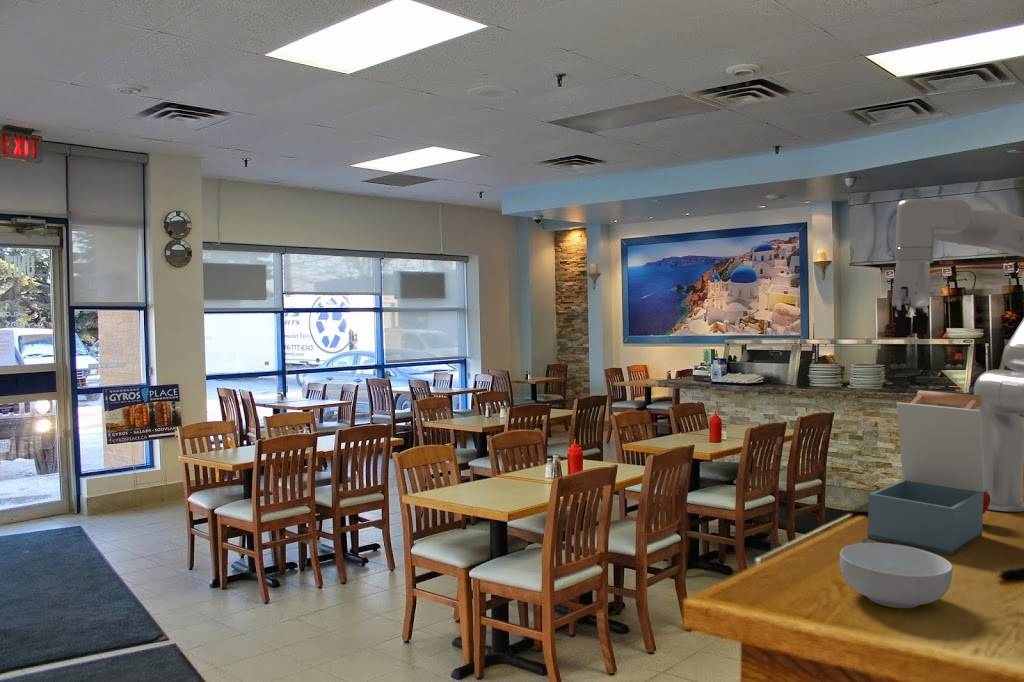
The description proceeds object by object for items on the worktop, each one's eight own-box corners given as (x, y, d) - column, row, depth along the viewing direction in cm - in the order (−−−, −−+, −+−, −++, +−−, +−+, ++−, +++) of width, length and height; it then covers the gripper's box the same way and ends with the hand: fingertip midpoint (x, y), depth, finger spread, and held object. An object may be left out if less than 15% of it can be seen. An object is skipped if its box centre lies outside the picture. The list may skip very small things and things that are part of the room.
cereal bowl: (896, 626, 129) (898, 580, 129) (816, 590, 145) (817, 549, 144) (975, 609, 136) (977, 566, 136) (891, 576, 151) (892, 537, 151)
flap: (902, 479, 186) (916, 463, 192) (983, 492, 175) (996, 474, 181) (896, 402, 182) (910, 387, 187) (978, 410, 170) (991, 394, 176)
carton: (901, 520, 187) (902, 479, 186) (981, 535, 176) (983, 492, 175) (867, 537, 174) (868, 494, 174) (951, 555, 163) (953, 508, 162)
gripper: (911, 257, 196) (908, 332, 197) (880, 255, 184) (878, 335, 185) (946, 256, 191) (943, 333, 192) (917, 255, 179) (914, 337, 180)
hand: (911, 334), depth 189 cm, fingers open, 9 cm apart
